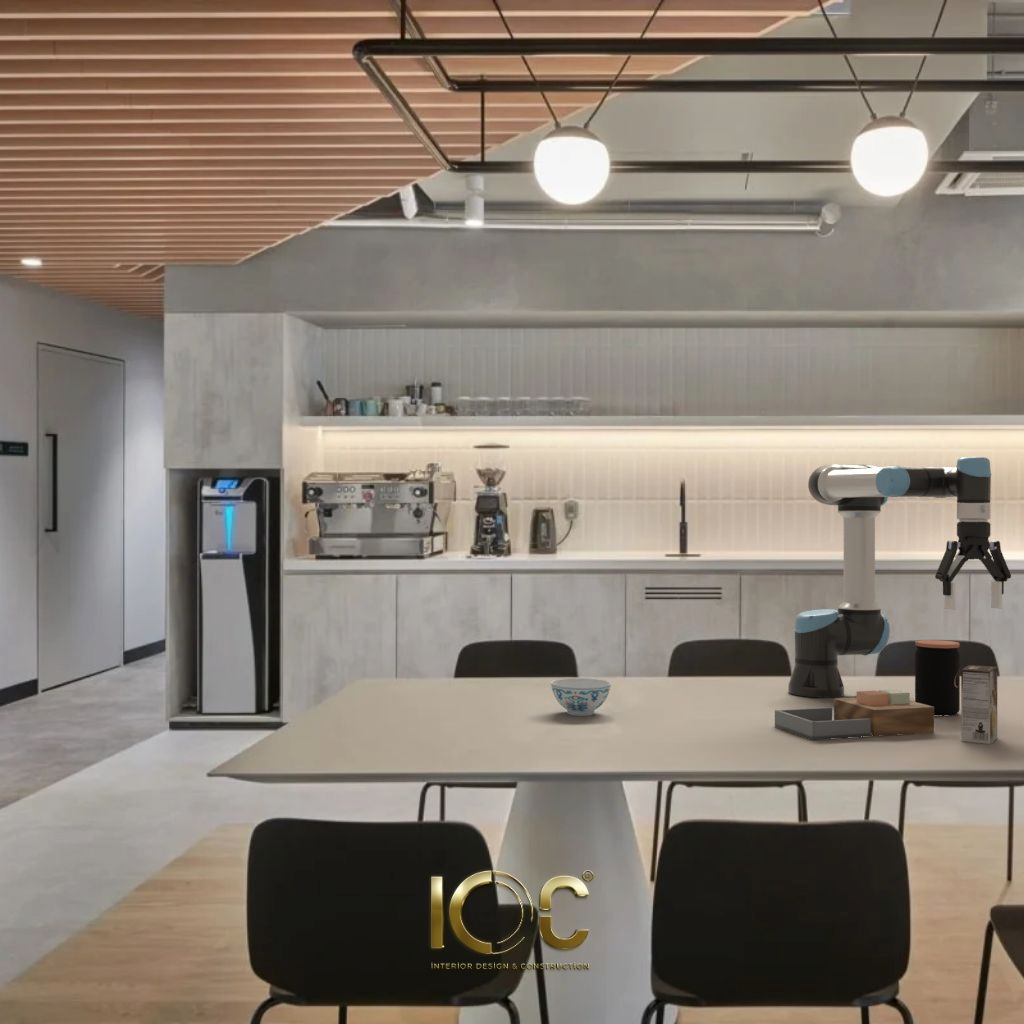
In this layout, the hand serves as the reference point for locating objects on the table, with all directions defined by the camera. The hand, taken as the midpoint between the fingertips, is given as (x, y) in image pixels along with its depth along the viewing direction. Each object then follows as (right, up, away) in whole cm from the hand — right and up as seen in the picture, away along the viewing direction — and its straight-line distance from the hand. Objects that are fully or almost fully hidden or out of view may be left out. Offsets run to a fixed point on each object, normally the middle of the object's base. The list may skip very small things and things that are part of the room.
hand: (973, 608), depth 264 cm
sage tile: (-21, -22, -6) cm, 31 cm away
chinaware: (-94, -27, +10) cm, 99 cm away
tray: (-40, -27, -12) cm, 50 cm away
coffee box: (-7, -28, -20) cm, 35 cm away
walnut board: (-24, -27, -7) cm, 37 cm away
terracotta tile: (-27, -21, -8) cm, 36 cm away
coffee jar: (-3, -28, +14) cm, 31 cm away
